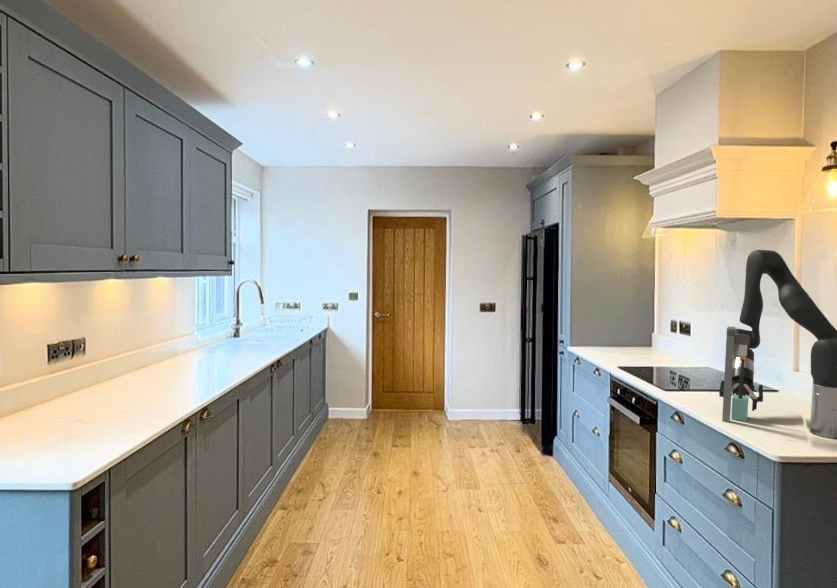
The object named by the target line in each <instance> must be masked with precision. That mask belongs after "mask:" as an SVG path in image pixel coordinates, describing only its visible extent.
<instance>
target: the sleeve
mask: <svg viewBox="0 0 837 588" xmlns="http://www.w3.org/2000/svg"><path fill="white" fill-rule="evenodd" d="M748 413H749V396H747V395H746V396H743V395H742V399H740V398H739V395H736V394H733V396H732V397H731V414H730V420H732V421H733V420H734V421H740V422H748V417H749V416H748Z"/></svg>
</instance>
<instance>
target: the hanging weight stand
mask: <svg viewBox="0 0 837 588" xmlns="http://www.w3.org/2000/svg"><path fill="white" fill-rule="evenodd" d="M735 329H736V326H727V328H726V339H725V341H726V342H725V357H724V358H725V359H724V379H723V381H724V396H723V397H722V398H723V399H722V418H721V419H722V422H725V423H731V413H732V396H731V393H732V374H733V356H734V344H739V354H738V355H739V359H741V360H740V379H739V398H740V399H742V394H743V375H744V359H746V356H747V345H750V335H746V334H735Z"/></svg>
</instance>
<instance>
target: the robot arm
mask: <svg viewBox="0 0 837 588" xmlns="http://www.w3.org/2000/svg"><path fill="white" fill-rule="evenodd" d="M745 264H746V265H745V281H744V284H745V285H744V297H743V302H742V307H741V312H740V315H739V322H740V323H741V324H743V325H746V326H748V327H750V328H751V330H748V329H747V330H746V329H743V328H735V334H746V335H750V345H747V356H746V359H744V375H743V394H742V395H743V396H749V397H748V399H750V400H751V401H752V403H751V404H752V405H751V411H753V412H754V411H755V410H757V406H758V402H759V403H762V402H763V401H764V389H763V388H764V386H763V384H759V385H754V377H755V376H754V375H755V365H754V363H755V352H754V349H757V348H758V347H759V346H760V343H761V332H760V323H761V322H760V321H761V317H762V313H763V310H764V308H763V307H764V301H763V295H762V290H761V281H762V277H763V275H768V276H769V278H770V279H771V280H772V281H773V282H774V284H775V286H776V287H777V292H778V293H777V295H778V302H779V304H780V306H781V307H782V308H783V310H784V311H785V313H786V315H787V316H788V317H789V318H790V319H791V320H792V321H794V322H795V323H796V324H798V325H799V326H801V327H802V328H803V329H805V330H806V331H808V332H810V333H811V334H812V335H813V336H814V337H815V338H816V341H815V342H814V343H813V344H812V347H811V349H810V375H811V377H812V389H811V390H812V392H811V406H810V407H811V409H810V426H809V432H810V433H811V434H812V435H816V436H820V437H825V438H830V439H837V329H836V327H835V326H834V325H832V323H830V321H829V319H828V318H827V317H826V316H825V314H824V313H823V312H822V311H821V310H820V308H819V307H818V305H817V304H816V303H815V301H814V300H813V299H812V298H811V295H809V294H808V292H807V291H806V290H805V289H804V288H803V286H802V285H801V284H800V282H799V280H797V278H796V277H795V276H794V274H793V273H792V271H791V270H790V268H789V267H788V265H787V263H786V261H785V260H784V258H783V257H782V255H781V254H780V253H779V252H777V251H775V250H770V249H768V250H767V249H755V250H753V251H751V252H750V253H749V254H748V256H747V259H746V263H745ZM738 354H739V344H734V354H733V374H732V393H731V397H733V394H734V395H739V379H740V360H741V359H739V355H738ZM755 390H756V391H755ZM754 391H755V392H757V393H758V396H757V395H756V394H755V393H754ZM718 393H719V394H718V396H719V397H720V398H723V396H724V380H721V382H720V386H719V391H718Z"/></svg>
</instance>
